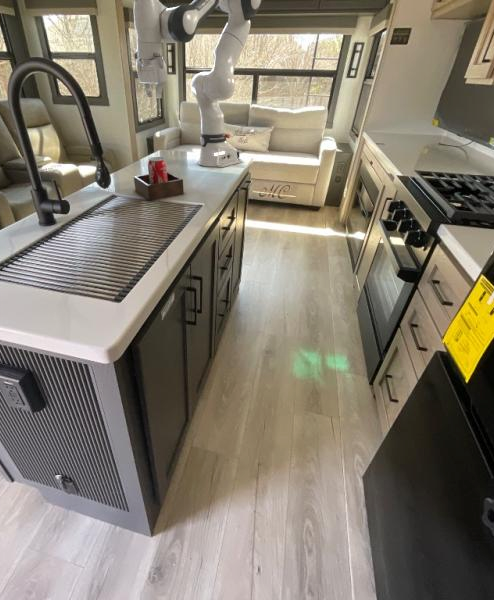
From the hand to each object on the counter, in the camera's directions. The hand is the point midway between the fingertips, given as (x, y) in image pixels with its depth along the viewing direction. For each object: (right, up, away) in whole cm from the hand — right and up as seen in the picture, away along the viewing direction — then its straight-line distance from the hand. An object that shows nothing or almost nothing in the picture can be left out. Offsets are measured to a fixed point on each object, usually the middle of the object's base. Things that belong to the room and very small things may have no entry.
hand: (154, 97), depth 128 cm
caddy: (+2, -36, +3) cm, 36 cm away
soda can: (+2, -36, +3) cm, 36 cm away
